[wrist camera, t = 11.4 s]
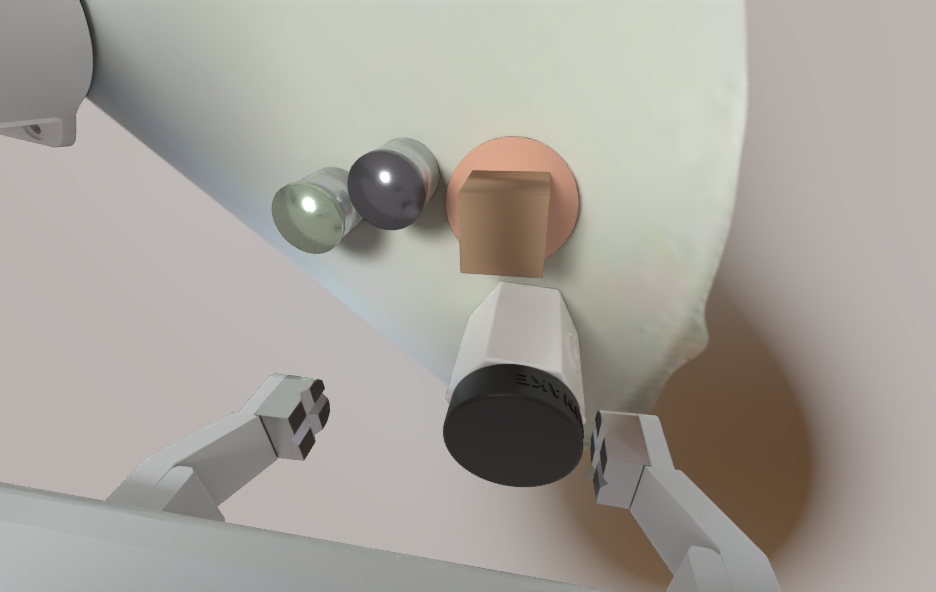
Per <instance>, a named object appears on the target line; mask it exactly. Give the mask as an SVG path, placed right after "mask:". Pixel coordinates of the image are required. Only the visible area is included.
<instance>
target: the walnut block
mask: <svg viewBox="0 0 936 592" xmlns="http://www.w3.org/2000/svg"><path fill="white" fill-rule="evenodd" d="M549 199H550V172H534V171H488V170H472V172H471V173H470V175H469V176H468V178H467V179H466V181H465V182H464V184H463V186H462V187H461V189H460V190H459V192H458V218H459V245H460V272H461V273H469V274H484V275H500V276H515V277H531V278H543V267H544V256H545V244H546V233H547V222H548V210H549Z"/></svg>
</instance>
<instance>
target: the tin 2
mask: <svg viewBox="0 0 936 592" xmlns="http://www.w3.org/2000/svg"><path fill="white" fill-rule="evenodd" d="M438 183H439V168H438V164H437V161H436V159H435V157H434V155H433V154H432V152H431V151H430V150H429V149H428V148H427V147H426V146H425V145H423V144H422V143H420V142H419V141H416V140H414V139H410V138H397V139H394V140H391V141H389V142H388V143H386V144H384V145H383V146H381V147H380V148H378V149H376V150H374V151H371V152H369V153H367V154H365V155H363V156H362V157H360V158H359V159H358V160H357V161H356V162H355V163H354V164H353V166H352V167H351V169H350V172H349V175H348V180H347V189H348V194H349V198H350V201H351V203H352V205H353V207H354V208H355V210H356V211H357V212H358V214H359V215H360V216H361V217H362V218H363V219H365V220H366V221H367V222H368V223H370V224H372V225H374V226H376V227H378V228H381V229H386V230H399V229H402V228H405V227H407V226H409V225H411V224H412V223H413V222H414V221H415V220H416V219H417V218H418V217H419V215H420V214H421V212H422V211H423V208H424V206H425V204H426V203H427V202H428V200H429V199H430V198H431V196H432V195H433V194H434V192H435V190H436V188H437V186H438Z"/></svg>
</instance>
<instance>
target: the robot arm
mask: <svg viewBox="0 0 936 592" xmlns="http://www.w3.org/2000/svg"><path fill="white" fill-rule="evenodd" d="M92 72H93V53H92V45H91V38H90V34H89V29H88V25H87V21H86V18H85V15H84V12H83V9H82V6H81V3H80V1H79V0H0V135H5V136H9V137H13V138H17V139H21V140H26V141H30V142H34V143H39V144H43V145H47V146H51V147H64V146H71V145H73V144H74V142H75V138H76V113H77V110H78V107H79V106H80V104H81V102H82V101H83V99H84V98H85V96H86V94H87V92H88V90H89V87H90V83H91V79H92ZM324 389H325V387H324V384H323V381H322V380H319V379H314V378H306V377H300V376H292V375H283V374H275V373H274V374H272V375H270V376H269V377H268V378H267V379H266V380H265V382H264V383H263V384H262V385H261V386H260V387H259V389H258V390H257V391H256V392H255V393H254V394H253V396H252V397H251V398H250V399H249V400H248V401H247V403H246V404H245V405H244V406H243V407H242V408H241V410H240V411H239V412H238V413H231V414H229V415H227V416H226V417H224V418H222V419H220V420H218V421H216V422H214V423H212V424H211V425H209V426H207V427H205V428H203V429H201V430H199V431H197V432H196V433H194V434H192V435H190V436H188V437H186V438H184V439H182V440H180V441H179V442H177V443H175V444H173V445H171V446H169V447H167V448H165V449H164V450H162V451H160V452H158V453H156V454H154V455H152V456H150V457H149V458H147V459H145V460H144V461H143V462H142V463H141V464H140V465H139V466H138V467H137V469H135V471H133V473H132V474H131V475H130V476H129V477H128V478H127V479H126V480H125V481H124V482H123V483H122V484H121V485H120V486H119V487H118V488H117V489H116V490H115V491H114V492H113V493H112V494H111V495H110V496H109V497H108V498H107V499H106V500H105V501H103V500H97V499H91V498H86V497H80V496H75V495H69V494H63V493H58V492H52V491H46V490H41V489H36V488H30V487H25V486H19V485H14V484H8V483H3V482H0V592H614V591H609V590H603V589H597V588H592V587H586V586H581V585H574V584H569V583H563V582H558V581H552V580H547V579H541V578H536V577H530V576H524V575H519V574H513V573H508V572H502V571H496V570H491V569H485V568H480V567H474V566H468V565H462V564H457V563H452V562H446V561H440V560H434V559H429V558H424V557H418V556H412V555H406V554H401V553H395V552H390V551H384V550H379V549H373V548H367V547H362V546H355V545H350V544H345V543H339V542H333V541H328V540H322V539H316V538H311V537H305V536H299V535H294V534H288V533H283V532H277V531H271V530H266V529H260V528H255V527H249V526H243V525H238V524H232V523H226V522H225V519H224V516H223V515H222V514H221V512H220V511H219V509H218V507H217V506H219V505H220V504H221V503H222V502H224V501H225V500H226V499H228V498H229V497H230V496H231V495H233V494H234V493H235V492H236V491H238V490H239V489H240V488H241V487H243V486H244V485H245V484H247V483H248V482H249V481H250V480H251V479H253V478H254V477H256V476H257V475H258V474H259V473H261V472H262V471H263V470H264V469H266V468H267V467H268V466H270V465H271V464H272V463H273V462H275V461H276V460H277V458H286V459H294V460H303V461H304V460H305V458H306V457H307V455H308V453H309V452H310V450H311V448H312V446H313V445H314V443H315V436H314V435H315V434H316V433H318V432H319V431H321V430H322V429H323V428H324V426H325V424H326V423H327V420H328V417H329V413H330V404H329V400H328V398H327V397H326V396H325V395H323V394H322V392H323V390H324ZM595 421H596V428H595V429H594V430H593V432H592V438H591V461H592V466H593V467H594V468H595V469H596V471H595V475H594V479H593V481H594V488H595V498H596V503H597V504H603V505H609V506H615V507H620V508H626V509H630V512H631V513H632V515H633V517H634V518H635V519H636V521H637V522H638V524H639V525H640V527H641V528H642V530H643V531H644V533H645V534H646V535H647V537H648V538H649V540H650V541H651V543H652V544H653V546H654V547H655V549H656V550H657V552H658V553H659V555H660V556H661V557H662V559H663V560H664V562H665V563H666V565H667V566H668V568H669V569H670V571H671V572H672V574H673V575H674V577H673V579H672V581H671V583H670V585H669V587H668V588H667V590H666V592H782V590H781V588H780V586H779V583H778V581H777V579H776V577H775V574H774V572H773V570H772V567H771V565H770V563H769V560H768V558H767V556H766V555H765V554H764V553H763V552H762V551H761V550H760V549H759V548H758V547H757V546H756V545H755V544H754V543H753V542H752V541H751V540H750V539H749V538H748V537H747V536H746V535H745V534H744V533H743V532H742V531H741V530H740V529H739V528H738V527H737V526H736V525H735V524H734V523H733V522H732V521H731V520H730V519H729V518H728V517H727V516H726V515H725V514H724V513H723V512H722V511H721V510H720V509H719V508H718V507H717V506H716V505H715V504H714V503H713V502H712V501H711V500H710V499H709V498H708V497H707V496H706V495H705V494H704V493H703V492H702V491H701V490H700V489H699V488H698V487H697V486H696V485H695V484H694V483H693V482H692V481H691V480H690V479H689V478H688V477H687V476H686V475H685V474H684V473H683V472H682V471H681V470H675V469H674V465H673V462H672V459H671V455H670V452H669V449H668V446H667V442H666V439H665V436H664V433H663V430H662V426H661V423H660V420H659V418H658V417H657V416H655V415H645V414H635V413H627V412H617V411H607V410H598V411H597V414H596V418H595Z"/></svg>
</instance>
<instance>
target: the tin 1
mask: <svg viewBox="0 0 936 592" xmlns="http://www.w3.org/2000/svg"><path fill="white" fill-rule="evenodd" d="M348 175H349V172H347V171H345V170H343V169H340V168H336V167H327V168H323V169H321V170H319V171H317V172H315V173H313V174H311V175H309V176H307V177H305V178H303V179H302V180H300V181H297V182H293V183H290V184H288V185H286V186H284V187H283V188H281V189H280V190H279V191H278V192H277V193H276V195H275V196H274V199H273V202H272V215H273V219H274V222H275V225H276V227H277V229H278V230H279V232H280V233H281V234H282V236H283V237H284V238H285V239H286V240H287V241H288V242H289V243H290V244H292V245H293V246H294V247H296V248H298V249H300V250H302V251H305V252H308V253H313V254H320V253H325V252H328V251H330V250H331V249H333V248H334V247H335V246H336V245H337V244H338V243H339V242H340V241H341V240H342V238H343V237H344V236H345V235H346V234H347V233H348V232H349V231H350V230H352V229H353V228H354V227H355V226H356V225H357V224H358V223H359V222H360V221H361V220H362V219H363V218H362V217H361V216H360V215H359V214H358V212H357V211H356V210H355V208H354V207H353V205H352V203H351V201H350V198H349V194H348V189H347V180H348Z"/></svg>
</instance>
